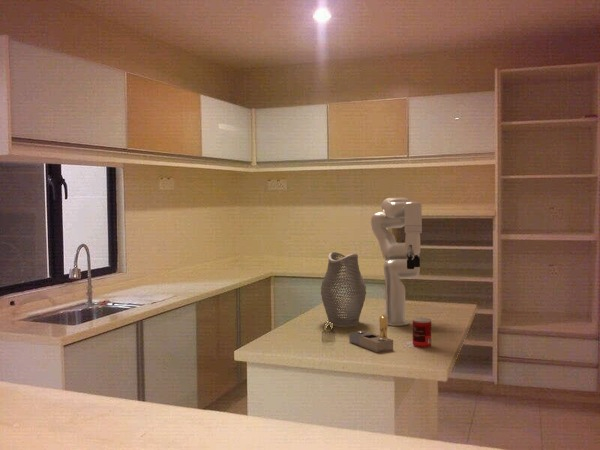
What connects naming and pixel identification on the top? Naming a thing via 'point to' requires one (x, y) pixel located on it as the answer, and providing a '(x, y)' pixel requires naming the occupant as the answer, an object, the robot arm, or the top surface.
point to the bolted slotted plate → (371, 341)
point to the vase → (357, 285)
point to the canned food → (422, 332)
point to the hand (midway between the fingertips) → (413, 268)
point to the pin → (383, 326)
